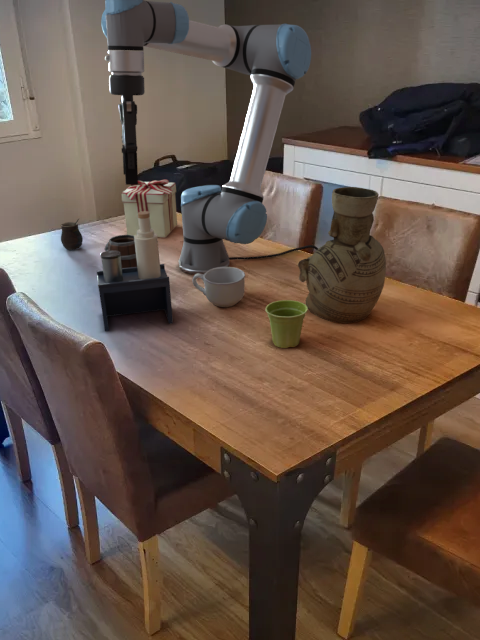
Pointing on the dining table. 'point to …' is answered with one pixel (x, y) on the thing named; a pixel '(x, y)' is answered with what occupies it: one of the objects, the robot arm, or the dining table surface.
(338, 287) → the ceramic vessel
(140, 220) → the oil bottle
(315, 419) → the dining table surface
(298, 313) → the plant pot
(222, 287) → the teacup
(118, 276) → the spice tin
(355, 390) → the dining table surface
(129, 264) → the mug
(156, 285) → the blue channel bracket
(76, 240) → the mate gourd
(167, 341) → the dining table surface
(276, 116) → the robot arm
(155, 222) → the gift box
